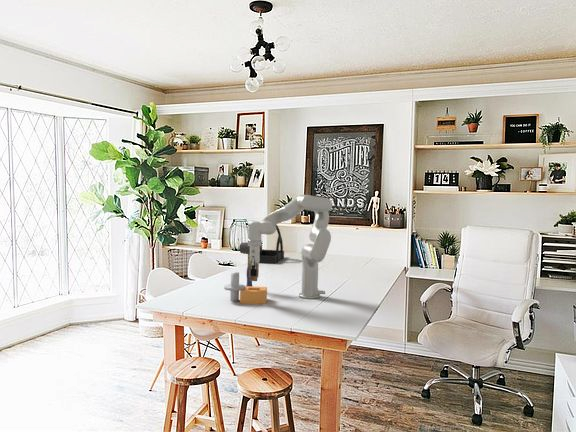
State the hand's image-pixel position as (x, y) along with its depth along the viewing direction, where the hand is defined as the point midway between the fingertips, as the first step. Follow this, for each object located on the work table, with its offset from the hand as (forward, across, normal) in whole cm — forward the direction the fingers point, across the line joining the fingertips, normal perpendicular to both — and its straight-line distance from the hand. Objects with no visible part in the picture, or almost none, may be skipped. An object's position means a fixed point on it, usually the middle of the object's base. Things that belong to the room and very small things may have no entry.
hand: (253, 274), depth 264 cm
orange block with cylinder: (+15, 0, +5) cm, 16 cm away
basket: (+15, +138, +3) cm, 139 cm away
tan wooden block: (+3, 0, 0) cm, 3 cm away
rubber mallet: (+15, +27, +6) cm, 32 cm away
